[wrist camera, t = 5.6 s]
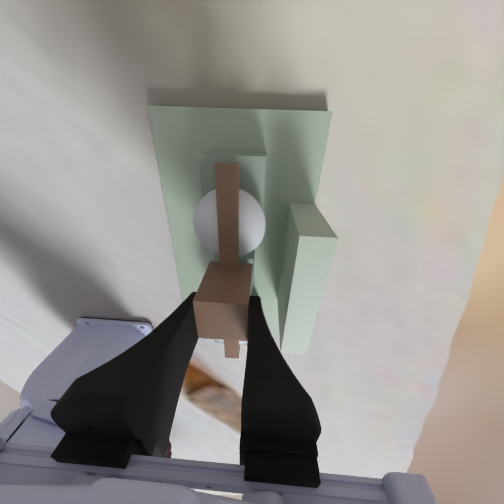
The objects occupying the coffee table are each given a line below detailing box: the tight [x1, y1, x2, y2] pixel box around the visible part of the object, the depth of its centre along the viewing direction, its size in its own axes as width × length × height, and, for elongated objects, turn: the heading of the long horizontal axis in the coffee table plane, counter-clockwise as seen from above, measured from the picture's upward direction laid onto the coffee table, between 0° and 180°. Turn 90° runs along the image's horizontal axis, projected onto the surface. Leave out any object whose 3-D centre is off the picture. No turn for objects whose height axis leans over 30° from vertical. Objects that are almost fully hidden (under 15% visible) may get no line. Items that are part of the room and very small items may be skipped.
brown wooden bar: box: [193, 162, 265, 358], centre depth 13 cm, size 4×16×4 cm, turn 178°
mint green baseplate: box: [147, 105, 338, 355], centre depth 17 cm, size 12×22×7 cm, turn 178°
